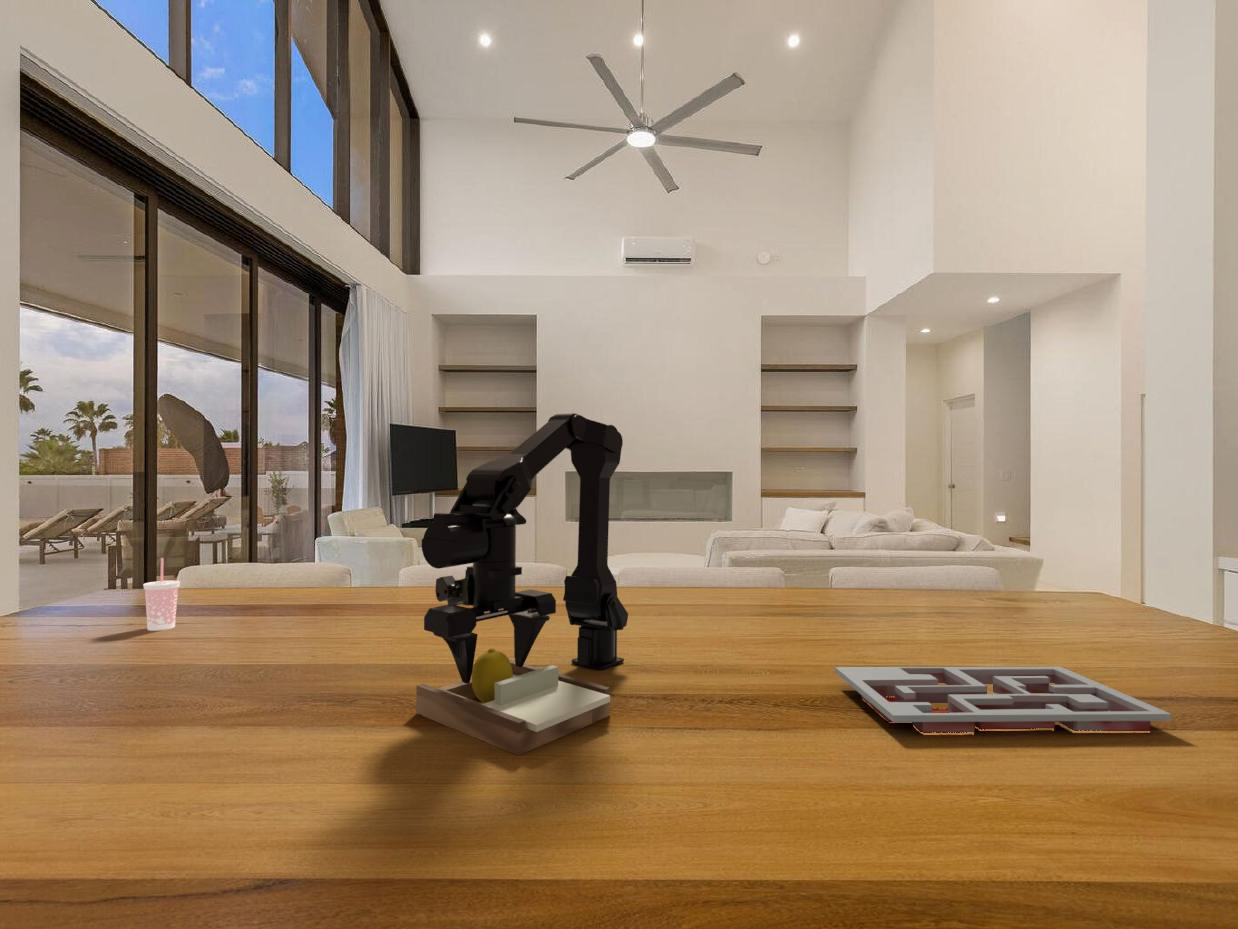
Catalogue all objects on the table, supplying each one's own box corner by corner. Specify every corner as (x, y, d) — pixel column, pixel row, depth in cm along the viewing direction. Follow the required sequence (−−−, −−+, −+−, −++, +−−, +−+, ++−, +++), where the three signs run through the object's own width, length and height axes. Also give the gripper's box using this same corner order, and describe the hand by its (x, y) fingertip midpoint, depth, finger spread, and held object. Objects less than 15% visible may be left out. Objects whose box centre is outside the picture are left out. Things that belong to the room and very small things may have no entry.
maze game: (1060, 687, 102) (1060, 666, 102) (1171, 739, 83) (1171, 714, 83) (835, 688, 101) (835, 667, 101) (893, 741, 81) (893, 715, 81)
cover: (554, 685, 92) (555, 661, 92) (610, 701, 86) (610, 676, 86) (480, 711, 82) (480, 684, 82) (536, 732, 76) (536, 703, 76)
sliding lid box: (508, 683, 101) (508, 659, 101) (609, 715, 88) (610, 687, 88) (416, 713, 88) (416, 685, 88) (518, 755, 76) (519, 723, 76)
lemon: (505, 715, 88) (503, 654, 88) (465, 713, 89) (464, 653, 89) (519, 700, 93) (518, 643, 93) (482, 698, 94) (480, 642, 94)
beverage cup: (165, 631, 131) (166, 560, 131) (134, 631, 131) (135, 559, 131) (186, 624, 137) (187, 555, 137) (157, 624, 137) (157, 555, 137)
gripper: (507, 548, 103) (506, 649, 103) (399, 561, 89) (399, 678, 89) (558, 554, 96) (558, 663, 96) (451, 569, 82) (450, 697, 82)
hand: (493, 674), depth 91 cm, fingers open, 9 cm apart
